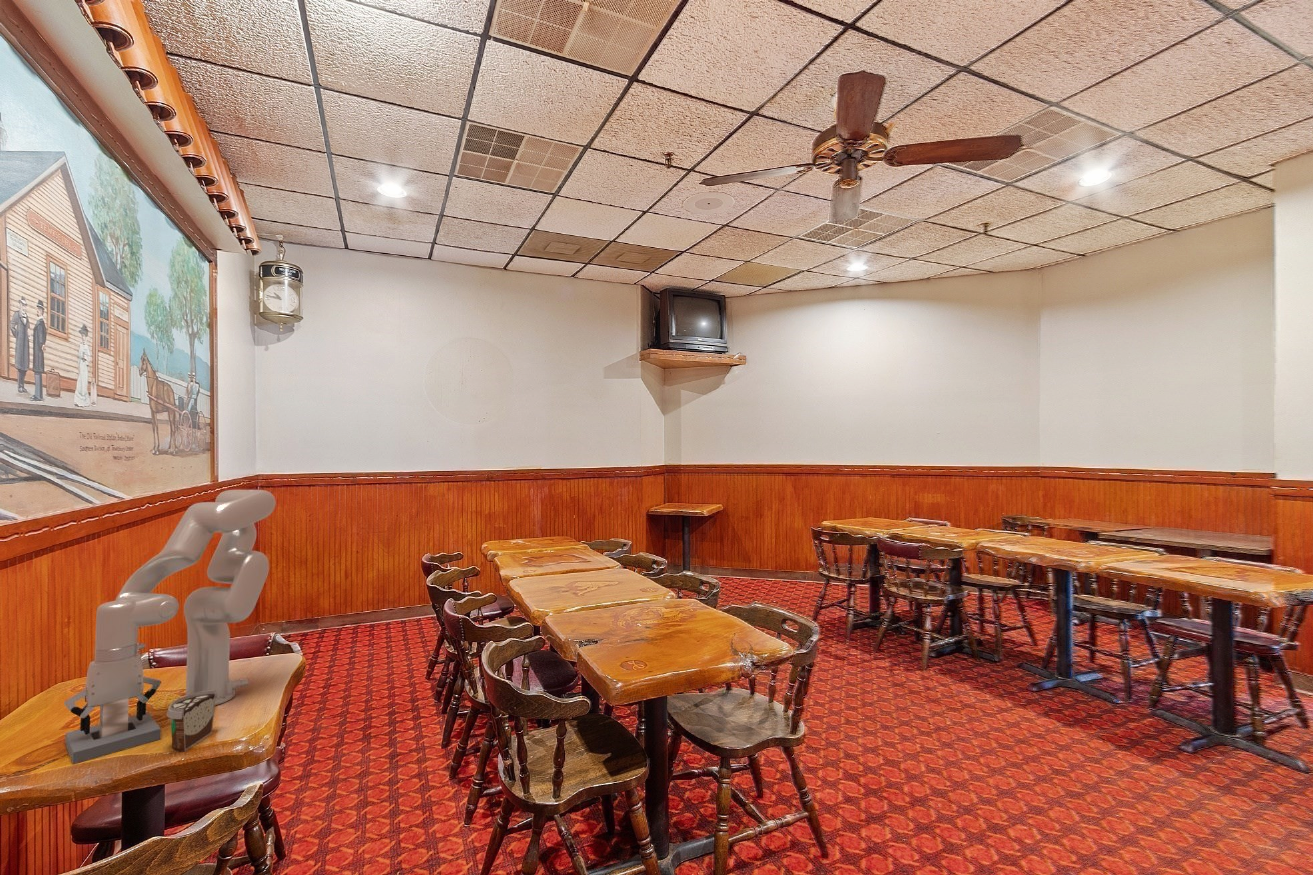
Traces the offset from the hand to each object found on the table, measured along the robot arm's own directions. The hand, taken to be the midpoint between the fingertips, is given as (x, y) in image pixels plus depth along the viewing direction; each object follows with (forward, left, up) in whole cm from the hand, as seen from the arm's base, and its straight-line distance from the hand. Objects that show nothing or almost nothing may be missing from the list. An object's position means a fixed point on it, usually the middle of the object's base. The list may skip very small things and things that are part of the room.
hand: (113, 725), depth 140 cm
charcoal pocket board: (0, 0, -4) cm, 4 cm away
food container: (-11, +14, -4) cm, 18 cm away
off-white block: (0, 0, -4) cm, 4 cm away
